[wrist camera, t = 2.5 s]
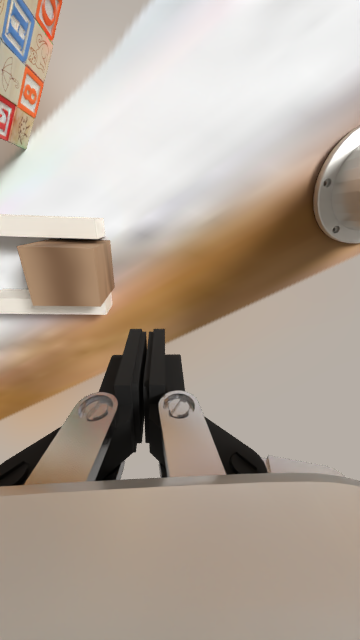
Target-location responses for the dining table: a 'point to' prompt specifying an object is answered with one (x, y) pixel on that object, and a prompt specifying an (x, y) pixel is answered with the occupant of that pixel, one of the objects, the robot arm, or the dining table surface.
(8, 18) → the stack of blocks
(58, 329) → the dining table surface
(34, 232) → the chute rail
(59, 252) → the walnut block
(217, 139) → the dining table surface
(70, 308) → the chute rail
